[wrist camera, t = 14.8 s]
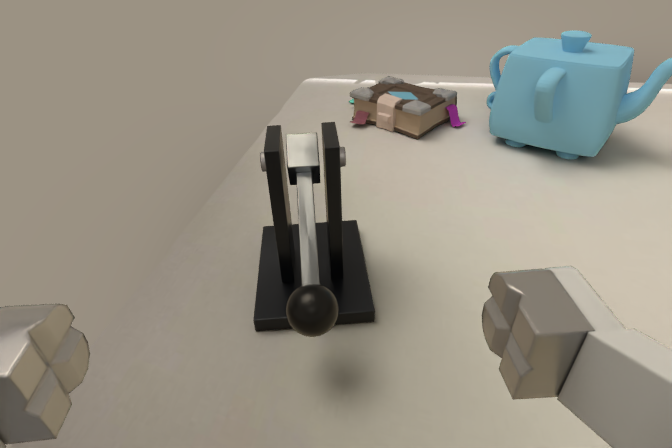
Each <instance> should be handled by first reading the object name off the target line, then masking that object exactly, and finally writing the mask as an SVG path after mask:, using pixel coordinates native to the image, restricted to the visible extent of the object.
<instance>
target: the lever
mask: <svg viewBox="0 0 672 448" xmlns="http://www.w3.org/2000/svg"><path fill="white" fill-rule="evenodd" d="M286 146H287V168H288V174H289V180H290V185H297V199H298V219H299V239H300V259H301V279H302V286H301V287H299V288H297V289H296V290H295V291H294V292H293V293H292V294H291V296H290V297H289V299H288V302H287V306H286V315H287V319H288V322H289V323H290V325H291V326H292V328H293V329H294V330H295V331H297V332H298V333H300V334H302V335H304V336H309V337H315V336H320V335H322V334H325V333H326V332H328V331H329V330H330V329H331V328H332V327H333V325H334V324H335V322H336V320H337V317H338V303H337V300H336V298H335V296H334V294H333V293H332V292H331V291H330V290H329V289H328V288H326V287H325V286H322V285H320V282H319V268H318V253H317V238H316V224H315V209H314V194H313V184H314V183H320V165H319V152H318V139H317V133H301V134H287V135H286Z"/></svg>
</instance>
